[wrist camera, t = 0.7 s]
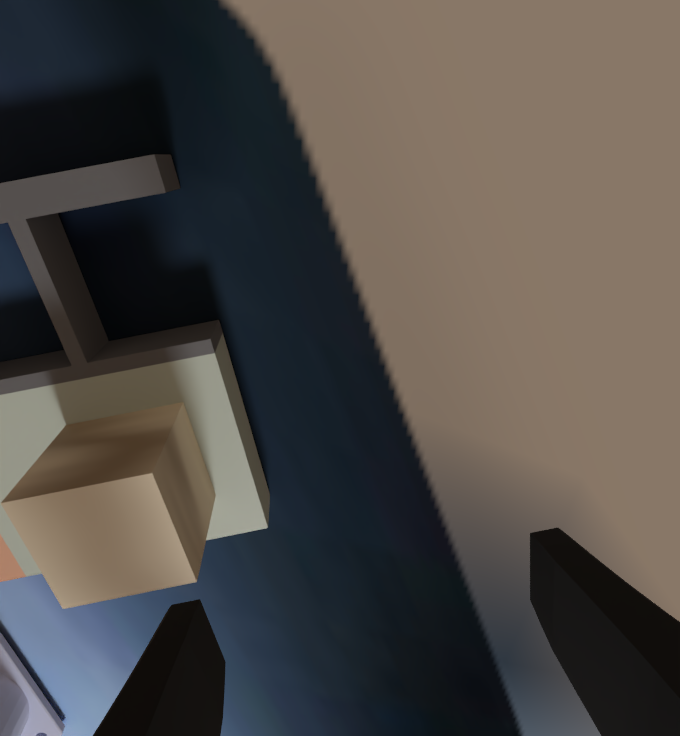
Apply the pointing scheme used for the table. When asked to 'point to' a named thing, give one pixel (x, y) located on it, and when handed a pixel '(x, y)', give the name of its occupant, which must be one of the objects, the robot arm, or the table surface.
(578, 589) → the robot arm
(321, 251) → the table surface
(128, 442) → the birch block
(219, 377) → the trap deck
